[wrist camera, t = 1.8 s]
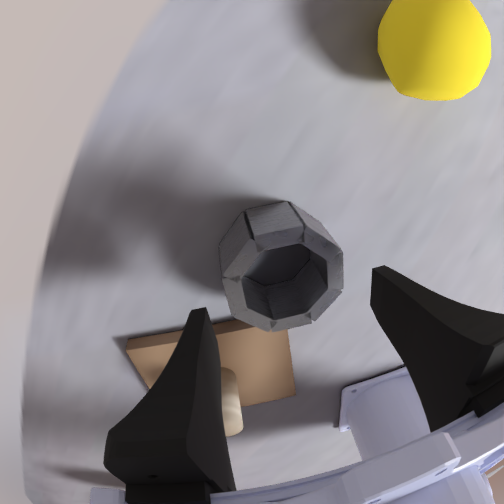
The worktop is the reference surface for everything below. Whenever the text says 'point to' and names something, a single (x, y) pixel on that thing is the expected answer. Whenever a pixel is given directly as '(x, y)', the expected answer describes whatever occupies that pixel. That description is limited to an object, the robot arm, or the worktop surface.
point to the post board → (229, 365)
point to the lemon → (434, 47)
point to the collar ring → (285, 293)
